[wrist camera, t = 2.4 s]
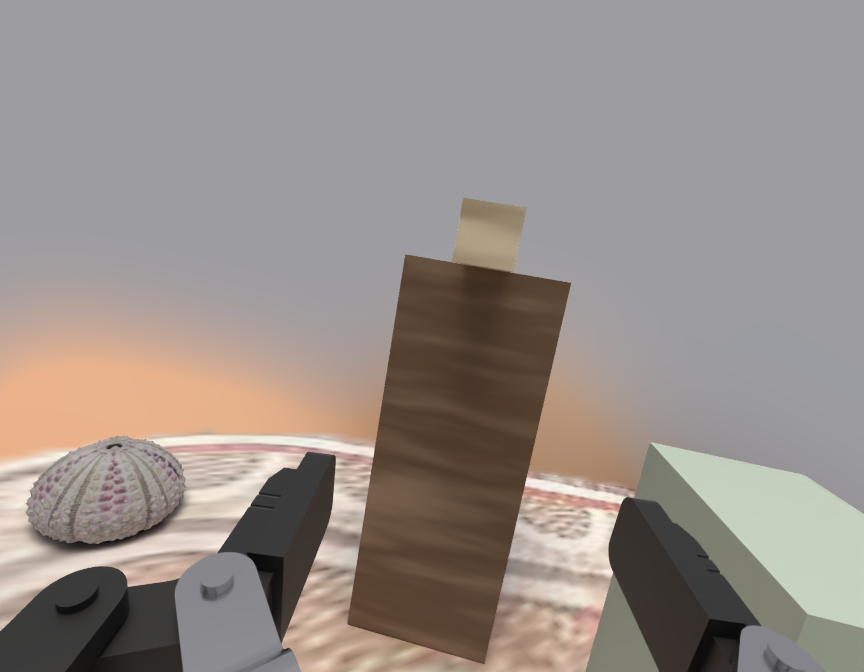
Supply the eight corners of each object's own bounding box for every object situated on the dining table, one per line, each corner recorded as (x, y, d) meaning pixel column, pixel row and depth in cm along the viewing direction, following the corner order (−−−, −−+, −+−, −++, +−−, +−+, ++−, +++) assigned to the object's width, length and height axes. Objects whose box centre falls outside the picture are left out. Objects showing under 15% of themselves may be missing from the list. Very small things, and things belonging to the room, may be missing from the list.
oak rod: (513, 271, 21) (526, 207, 20) (452, 261, 21) (463, 198, 21) (504, 272, 43) (510, 241, 42) (473, 267, 43) (479, 236, 42)
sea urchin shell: (131, 468, 52) (133, 409, 51) (212, 504, 48) (218, 441, 47) (-8, 524, 40) (-10, 448, 39) (86, 579, 36) (88, 496, 35)
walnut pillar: (484, 663, 34) (571, 283, 29) (347, 623, 36) (405, 254, 30) (487, 552, 48) (546, 279, 42) (388, 527, 50) (433, 260, 44)
